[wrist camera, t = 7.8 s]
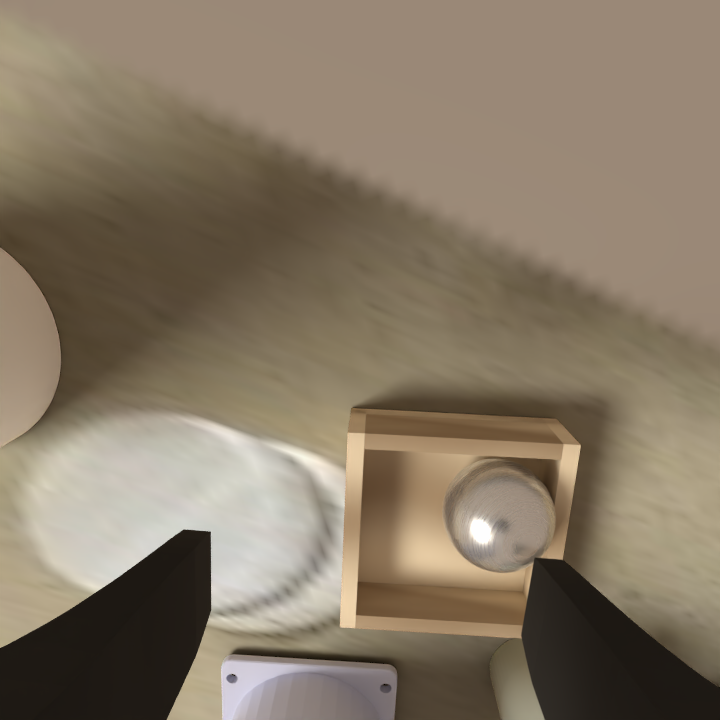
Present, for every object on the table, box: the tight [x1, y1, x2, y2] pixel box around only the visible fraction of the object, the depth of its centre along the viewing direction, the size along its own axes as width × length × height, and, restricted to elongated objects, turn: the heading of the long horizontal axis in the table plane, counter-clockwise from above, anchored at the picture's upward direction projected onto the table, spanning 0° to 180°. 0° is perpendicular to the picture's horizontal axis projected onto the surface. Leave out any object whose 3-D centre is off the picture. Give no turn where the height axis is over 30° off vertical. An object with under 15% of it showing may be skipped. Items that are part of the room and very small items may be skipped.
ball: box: [442, 458, 556, 573], centre depth 19 cm, size 4×4×4 cm
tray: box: [340, 408, 581, 639], centre depth 21 cm, size 8×8×3 cm
